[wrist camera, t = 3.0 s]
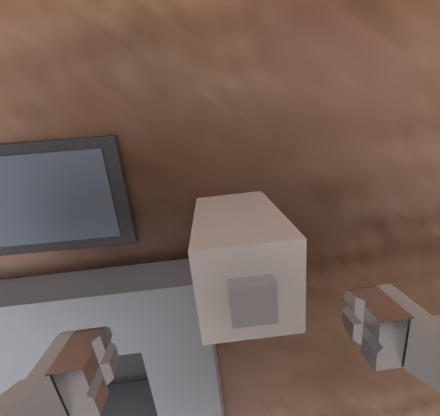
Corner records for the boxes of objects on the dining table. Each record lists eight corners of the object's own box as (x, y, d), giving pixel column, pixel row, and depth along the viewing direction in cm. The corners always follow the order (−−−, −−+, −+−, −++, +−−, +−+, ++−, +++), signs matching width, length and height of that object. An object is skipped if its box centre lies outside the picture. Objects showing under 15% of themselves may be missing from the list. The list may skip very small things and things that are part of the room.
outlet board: (204, 256, 16) (203, 283, 13) (229, 450, 22) (233, 498, 19) (-11, 280, 15) (-60, 314, 13) (75, 470, 21) (55, 522, 19)
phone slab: (120, 135, 14) (113, 135, 13) (140, 236, 16) (135, 243, 15) (-94, 152, 13) (-120, 154, 12) (-47, 253, 15) (-65, 262, 14)
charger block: (261, 190, 15) (314, 246, 7) (264, 249, 16) (311, 346, 9) (196, 198, 15) (186, 261, 7) (204, 256, 16) (202, 359, 9)
